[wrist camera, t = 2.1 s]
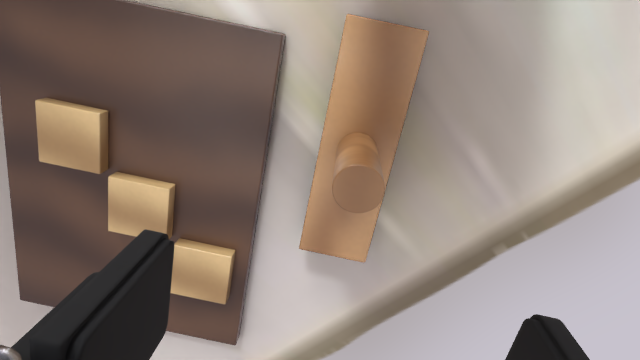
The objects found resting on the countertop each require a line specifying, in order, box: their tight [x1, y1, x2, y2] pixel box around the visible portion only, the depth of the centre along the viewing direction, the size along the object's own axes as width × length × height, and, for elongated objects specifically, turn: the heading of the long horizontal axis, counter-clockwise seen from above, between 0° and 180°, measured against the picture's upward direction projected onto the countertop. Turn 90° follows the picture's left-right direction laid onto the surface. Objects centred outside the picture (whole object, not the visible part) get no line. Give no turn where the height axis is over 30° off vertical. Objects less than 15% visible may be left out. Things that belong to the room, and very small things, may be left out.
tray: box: [0, 0, 285, 345], centre depth 27 cm, size 23×17×1 cm
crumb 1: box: [35, 98, 108, 174], centre depth 25 cm, size 4×4×1 cm
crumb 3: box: [171, 238, 235, 304], centre depth 28 cm, size 4×4×1 cm
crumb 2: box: [108, 172, 175, 239], centre depth 27 cm, size 4×4×1 cm
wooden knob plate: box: [299, 14, 429, 262], centre depth 22 cm, size 4×14×8 cm, turn 169°
